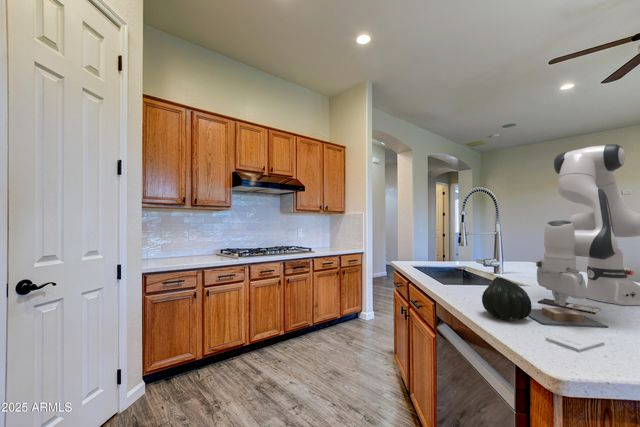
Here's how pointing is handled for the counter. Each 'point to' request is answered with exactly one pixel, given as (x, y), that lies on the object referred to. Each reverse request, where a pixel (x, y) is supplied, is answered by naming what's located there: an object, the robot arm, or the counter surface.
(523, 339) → the counter surface
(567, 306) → the chocolate bar
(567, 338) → the external hard drive
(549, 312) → the box
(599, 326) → the mat
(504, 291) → the squash
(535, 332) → the counter surface
